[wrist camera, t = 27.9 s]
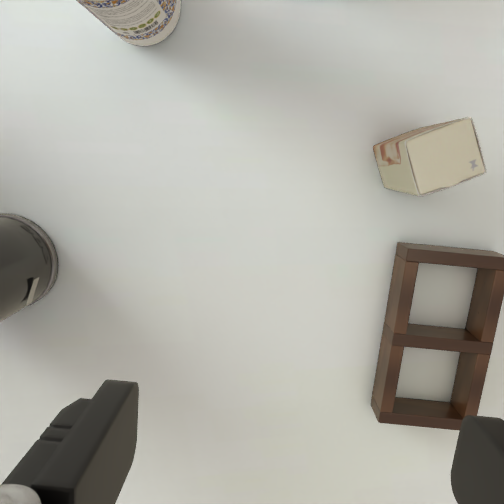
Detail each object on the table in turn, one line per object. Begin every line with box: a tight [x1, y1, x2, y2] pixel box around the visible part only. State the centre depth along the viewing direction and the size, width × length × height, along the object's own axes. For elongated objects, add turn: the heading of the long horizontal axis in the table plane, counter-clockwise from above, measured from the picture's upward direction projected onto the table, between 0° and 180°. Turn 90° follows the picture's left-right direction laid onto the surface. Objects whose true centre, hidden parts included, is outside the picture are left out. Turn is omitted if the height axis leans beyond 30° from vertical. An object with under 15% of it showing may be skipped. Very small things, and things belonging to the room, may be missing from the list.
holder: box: [371, 242, 504, 430], centre depth 42 cm, size 18×9×3 cm, turn 175°
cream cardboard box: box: [373, 117, 486, 196], centre depth 35 cm, size 5×4×10 cm
